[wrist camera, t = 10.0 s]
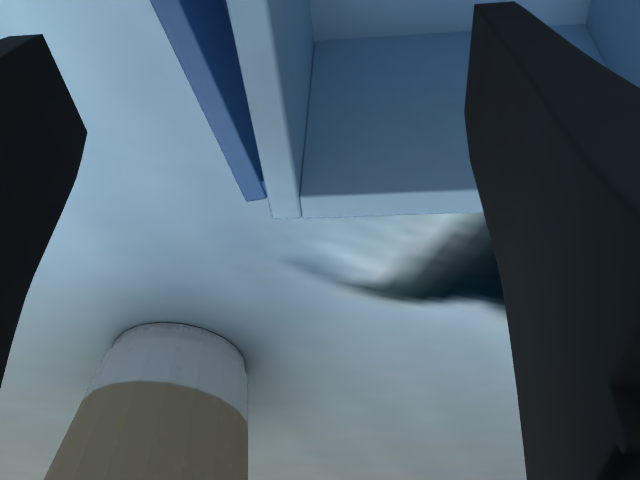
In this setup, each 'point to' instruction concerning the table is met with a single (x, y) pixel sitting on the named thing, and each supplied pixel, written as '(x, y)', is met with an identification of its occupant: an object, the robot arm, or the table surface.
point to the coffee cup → (161, 411)
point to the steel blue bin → (216, 81)
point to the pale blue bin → (385, 96)
